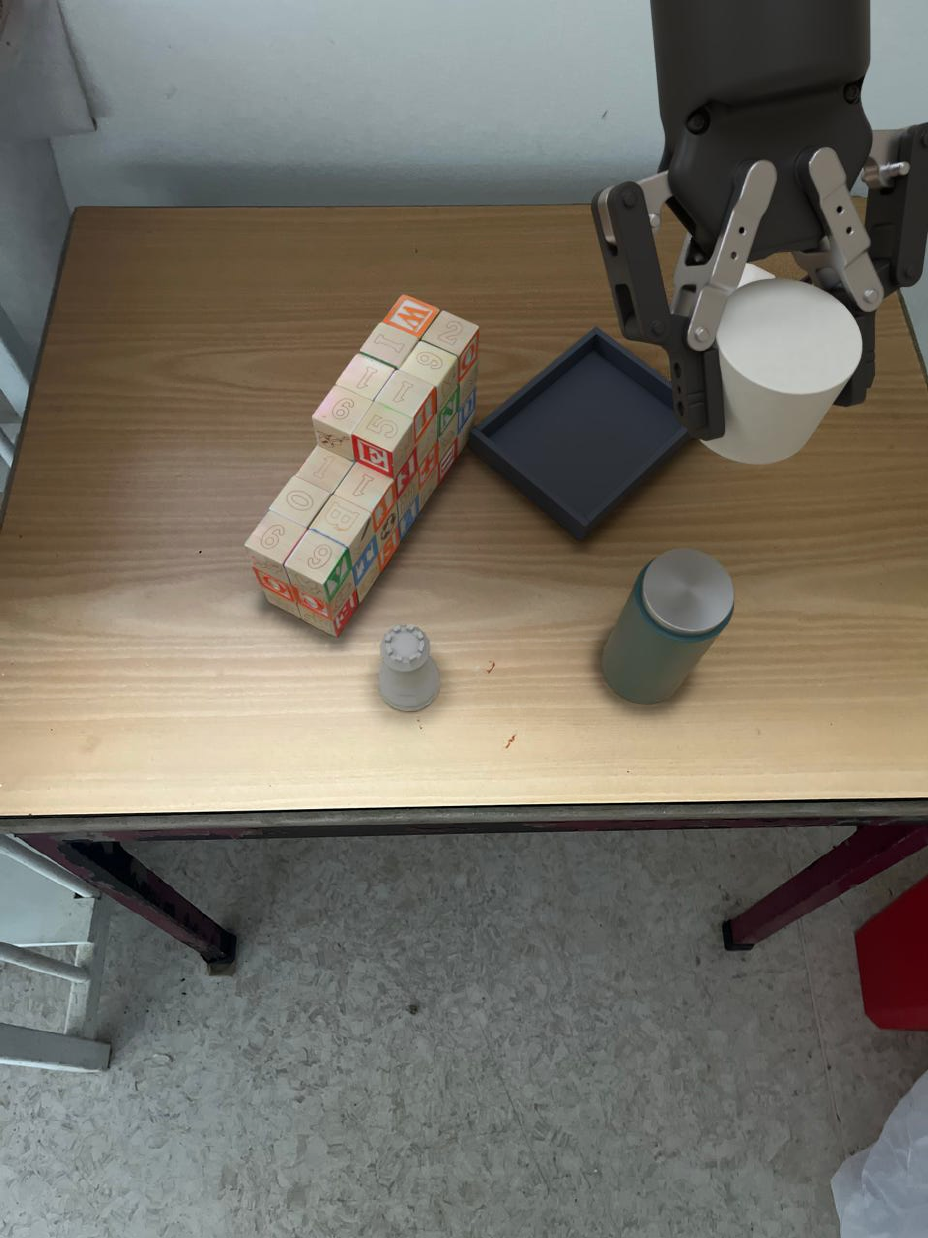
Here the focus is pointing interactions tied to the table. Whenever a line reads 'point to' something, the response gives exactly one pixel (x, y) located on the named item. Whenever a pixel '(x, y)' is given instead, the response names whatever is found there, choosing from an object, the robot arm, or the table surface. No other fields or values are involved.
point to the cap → (780, 366)
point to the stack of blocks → (369, 464)
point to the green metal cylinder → (667, 625)
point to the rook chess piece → (407, 669)
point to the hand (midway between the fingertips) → (776, 418)
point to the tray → (583, 433)
